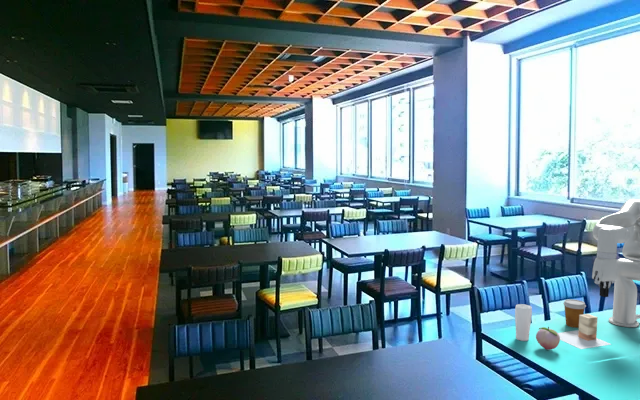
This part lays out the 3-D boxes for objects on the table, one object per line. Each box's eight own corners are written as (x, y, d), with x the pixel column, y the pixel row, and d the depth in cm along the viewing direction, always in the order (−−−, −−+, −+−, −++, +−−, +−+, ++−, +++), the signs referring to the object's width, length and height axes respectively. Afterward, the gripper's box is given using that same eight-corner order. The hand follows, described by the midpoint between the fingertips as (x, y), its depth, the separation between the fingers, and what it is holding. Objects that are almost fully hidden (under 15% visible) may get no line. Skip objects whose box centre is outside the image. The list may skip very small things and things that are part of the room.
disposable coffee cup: (588, 330, 235) (590, 305, 234) (568, 329, 235) (569, 304, 234) (578, 323, 244) (579, 299, 243) (558, 323, 245) (559, 298, 243)
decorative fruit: (564, 351, 210) (565, 327, 209) (552, 355, 205) (554, 331, 204) (543, 344, 217) (544, 321, 216) (531, 348, 213) (532, 325, 212)
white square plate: (577, 331, 233) (577, 330, 233) (611, 345, 216) (611, 344, 216) (548, 335, 228) (548, 334, 227) (580, 350, 211) (580, 349, 211)
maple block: (586, 335, 226) (588, 313, 225) (596, 339, 222) (597, 317, 221) (578, 336, 225) (579, 314, 224) (587, 340, 220) (588, 318, 219)
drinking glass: (532, 339, 223) (534, 306, 222) (527, 343, 218) (528, 309, 217) (517, 335, 228) (519, 303, 226) (511, 339, 223) (512, 306, 221)
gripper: (611, 253, 228) (609, 292, 230) (586, 254, 224) (583, 295, 225) (626, 256, 221) (624, 297, 223) (600, 258, 216) (598, 299, 218)
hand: (603, 296), depth 224 cm, fingers closed
